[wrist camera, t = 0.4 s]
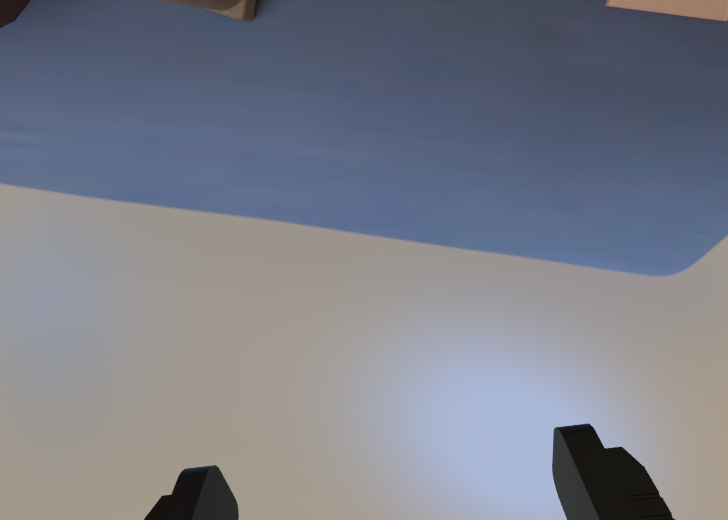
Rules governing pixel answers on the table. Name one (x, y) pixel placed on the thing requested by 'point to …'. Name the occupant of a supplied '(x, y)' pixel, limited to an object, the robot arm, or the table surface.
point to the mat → (678, 7)
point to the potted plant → (11, 10)
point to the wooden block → (223, 7)
